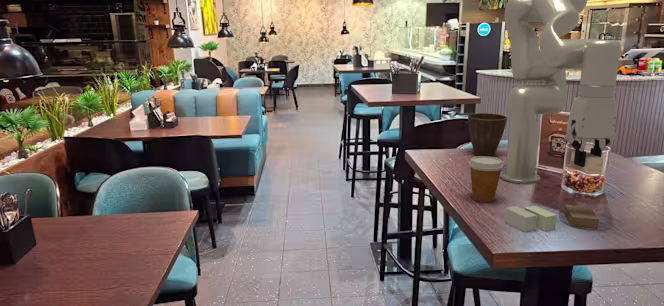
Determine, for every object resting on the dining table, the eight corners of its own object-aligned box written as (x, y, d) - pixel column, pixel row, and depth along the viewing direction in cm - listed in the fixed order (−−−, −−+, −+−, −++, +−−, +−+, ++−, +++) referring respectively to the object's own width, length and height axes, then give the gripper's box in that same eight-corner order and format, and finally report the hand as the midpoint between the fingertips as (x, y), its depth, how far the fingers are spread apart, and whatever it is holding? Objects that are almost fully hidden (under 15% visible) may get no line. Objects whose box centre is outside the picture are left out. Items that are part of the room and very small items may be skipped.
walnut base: (563, 214, 121) (565, 204, 121) (588, 217, 120) (590, 206, 119) (571, 228, 113) (572, 217, 112) (597, 230, 111) (599, 219, 111)
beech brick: (569, 166, 116) (571, 151, 115) (582, 166, 117) (584, 151, 116) (588, 174, 110) (590, 158, 108) (601, 173, 110) (603, 158, 109)
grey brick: (504, 222, 117) (505, 207, 116) (514, 220, 118) (516, 205, 117) (524, 232, 110) (526, 217, 109) (535, 230, 111) (536, 215, 110)
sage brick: (523, 221, 117) (524, 207, 116) (533, 219, 118) (534, 205, 117) (544, 232, 110) (546, 217, 109) (555, 229, 112) (556, 214, 111)
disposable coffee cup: (499, 195, 136) (503, 157, 133) (500, 205, 127) (503, 165, 124) (467, 191, 139) (469, 154, 136) (465, 202, 130) (468, 162, 127)
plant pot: (509, 154, 183) (513, 115, 179) (495, 161, 172) (498, 121, 168) (474, 148, 192) (477, 112, 188) (459, 155, 182) (461, 116, 178)
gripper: (615, 89, 113) (605, 159, 117) (555, 91, 111) (547, 162, 115) (639, 93, 105) (627, 167, 110) (575, 95, 103) (565, 170, 108)
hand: (586, 164), depth 112 cm, fingers closed on beech brick, 3 cm apart
